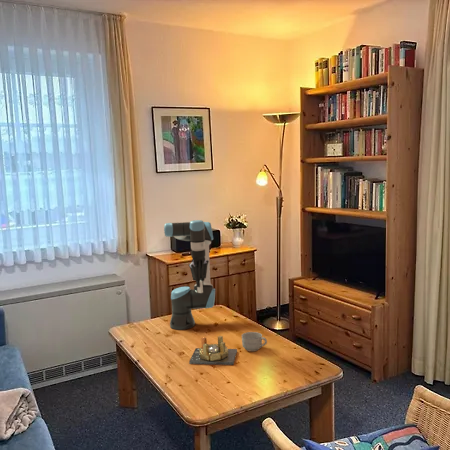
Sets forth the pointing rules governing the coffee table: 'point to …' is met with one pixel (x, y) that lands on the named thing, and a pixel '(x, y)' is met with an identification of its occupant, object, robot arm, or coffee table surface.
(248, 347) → the teacup
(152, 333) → the coffee table surface
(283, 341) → the coffee table surface
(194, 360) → the housing
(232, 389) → the coffee table surface
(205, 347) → the ring nut
